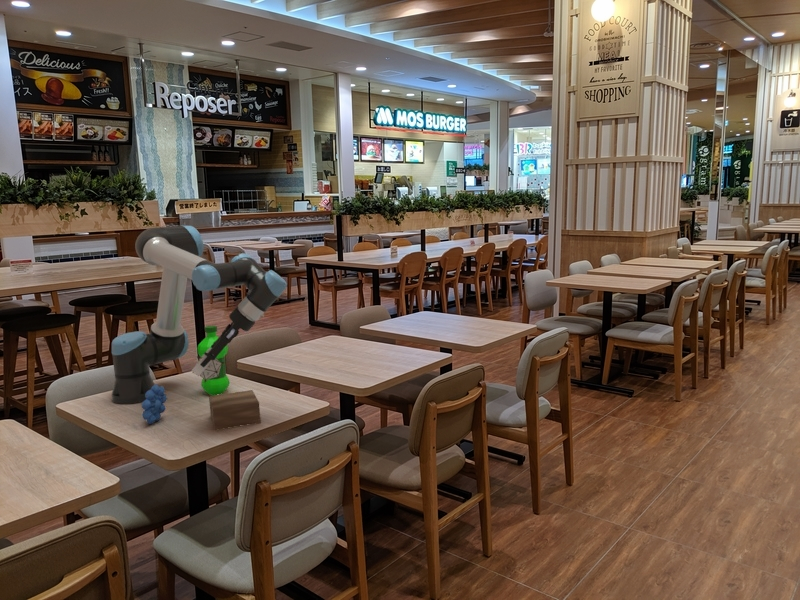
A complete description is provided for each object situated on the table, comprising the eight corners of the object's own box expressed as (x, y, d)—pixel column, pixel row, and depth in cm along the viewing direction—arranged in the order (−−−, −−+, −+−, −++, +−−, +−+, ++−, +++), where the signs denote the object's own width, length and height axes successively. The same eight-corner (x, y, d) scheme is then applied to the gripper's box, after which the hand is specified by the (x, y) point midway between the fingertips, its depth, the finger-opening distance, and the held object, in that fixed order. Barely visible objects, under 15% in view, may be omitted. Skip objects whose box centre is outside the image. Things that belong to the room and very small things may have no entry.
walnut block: (210, 416, 202) (209, 396, 201) (253, 409, 207) (252, 390, 206) (214, 431, 189) (213, 409, 188) (260, 423, 194) (259, 402, 193)
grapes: (155, 414, 205) (152, 379, 203) (173, 415, 203) (170, 380, 201) (133, 427, 193) (129, 391, 191) (151, 428, 192) (148, 391, 190)
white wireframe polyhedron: (216, 391, 190) (225, 369, 184) (188, 385, 187) (196, 363, 181) (219, 370, 197) (228, 349, 191) (192, 365, 193) (200, 343, 188)
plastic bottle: (234, 388, 230) (229, 323, 226) (224, 397, 220) (218, 329, 216) (208, 388, 231) (202, 323, 227) (197, 397, 221) (191, 330, 216)
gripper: (253, 329, 179) (202, 387, 179) (258, 315, 199) (211, 367, 199) (233, 312, 177) (181, 371, 177) (240, 300, 197) (193, 353, 197)
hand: (197, 369), depth 188 cm, fingers closed on white wireframe polyhedron, 8 cm apart
